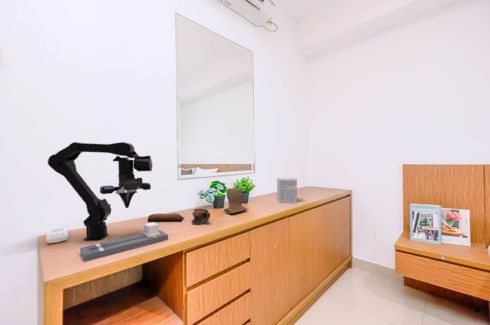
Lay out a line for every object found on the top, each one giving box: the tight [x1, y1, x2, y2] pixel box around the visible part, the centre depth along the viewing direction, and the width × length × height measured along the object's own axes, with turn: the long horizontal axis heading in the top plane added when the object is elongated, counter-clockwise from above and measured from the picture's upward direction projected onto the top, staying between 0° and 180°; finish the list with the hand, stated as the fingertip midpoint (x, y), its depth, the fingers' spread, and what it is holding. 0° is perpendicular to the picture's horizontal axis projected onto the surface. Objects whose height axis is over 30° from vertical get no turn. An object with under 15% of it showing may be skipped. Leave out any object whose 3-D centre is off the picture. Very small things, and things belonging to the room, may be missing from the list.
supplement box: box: [276, 177, 298, 204], centre depth 171 cm, size 13×13×18 cm
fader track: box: [79, 229, 169, 262], centre depth 85 cm, size 28×9×2 cm, turn 133°
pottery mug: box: [191, 208, 211, 226], centre depth 116 cm, size 12×10×8 cm
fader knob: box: [142, 221, 160, 238], centre depth 91 cm, size 4×6×4 cm
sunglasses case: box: [147, 212, 185, 223], centre depth 122 cm, size 18×7×7 cm
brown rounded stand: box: [223, 187, 248, 215], centre depth 138 cm, size 15×12×15 cm
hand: (126, 207), depth 97 cm, fingers closed
